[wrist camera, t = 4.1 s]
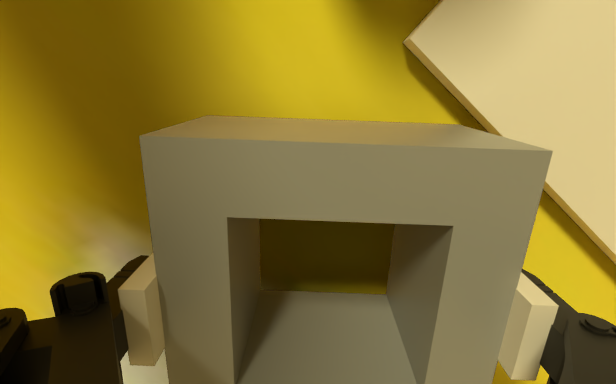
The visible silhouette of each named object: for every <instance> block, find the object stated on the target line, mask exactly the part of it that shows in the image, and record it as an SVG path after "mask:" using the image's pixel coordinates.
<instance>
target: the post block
mask: <svg viewBox="0 0 616 384" xmlns="http://www.w3.org/2000/svg"><path fill="white" fill-rule="evenodd" d="M402 43H403V44H404V45H405V46H406V47H407V48H408V49H409V50H410V51H411V52H412V53H413V54H414V55H415V56H416V57H417V58H418V59H419V60H420V61H421V62H422V63H423V64H424V65H425V67H426V68H427V69H428V70H429V71H430V72H431V73H432V74H433V75H434V76H435V77H436V78H437V79H438V80H439V81H440V82H441V83H442V84H443V85H444V86H445V87H446V88H447V89H448V90H449V92H450V93H451V94H452V95H453V96H454V97H455V98H456V99H457V100H458V101H459V102H460V103H461V104H462V105H463V106H464V107H465V108H466V109H467V110H468V111H469V112H470V113H471V114H472V115H473V117H474V118H475V119H476V120H477V121H478V122H479V123H480V124H481V125H482V126H483V127H484V128H485V129H486V130H487V131H488V132H489V133H491V134H494V135H498V136H502V137H505V138H509V139H512V140H516V141H519V142H523V143H526V144H530V145H534V146H537V147H541V148H544V149H548V150H551V151H553V153H552V157H551V160H550V164H549V168H548V172H547V176H546V179H545V183H544V187H543V189H544V191H545V192H546V193H547V194H548V195H549V196H550V197H551V198H552V199H553V200H554V201H555V202H556V203H557V204H558V205H559V206H560V207H561V208H562V209H563V210H564V211H565V212H566V213H567V215H568V216H569V217H570V218H571V219H572V220H573V221H574V222H575V223H576V224H577V225H578V226H579V227H580V228H581V229H582V230H583V231H584V232H585V233H586V234H587V235H588V236H589V237H590V238H591V240H592V241H593V242H594V243H595V244H596V245H597V246H598V247H599V248H600V249H601V250H602V251H603V252H604V253H605V254H606V255H607V256H608V257H609V258H610V259H611V260H612V261H613V262H614V263H615V265H616V0H440V1H439V3H438V4H437V5H436V6H435V7H434V8H433V9H432V10H431V11H430V13H429V14H428V15H427V16H426V17H425V18H424V19H423V20H422V21H421V22H420V24H419V25H418V26H417V27H416V28H415V29H414V30H413V31H412V32H411V34H410V35H409V36H408V37H407V38H406V39H405V40H404V41H403V42H402Z"/></svg>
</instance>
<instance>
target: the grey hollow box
mask: <svg viewBox="0 0 616 384" xmlns="http://www.w3.org/2000/svg"><path fill="white" fill-rule="evenodd" d="M139 139H140V147H141V155H142V164H143V172H144V180H145V189H146V197H147V205H148V213H149V222H150V230H151V238H152V246H153V255H154V263H155V271H156V275H157V282H158V291H159V299H160V307H161V315H162V324H163V332H164V340H165V354H166V362H167V370H168V378H169V384H492V381H493V377H494V373H495V369H496V365H497V362H498V355H499V352H500V348H501V344H502V340H503V336H504V332H505V329H506V325H507V321H508V317H509V313H510V310H511V306H512V302H513V298H514V294H515V290H516V289H517V286H518V282H519V278H520V274H521V271H522V267H523V263H524V259H525V255H526V252H527V248H528V244H529V240H530V236H531V233H532V229H533V225H534V221H535V217H536V214H537V210H538V206H539V202H540V198H541V195H542V191H543V187H544V183H545V179H546V176H547V172H548V168H549V164H550V160H551V157H552V153H553V151H551V150H548V149H544V148H541V147H537V146H534V145H530V144H526V143H523V142H519V141H516V140H512V139H509V138H505V137H502V136H498V135H494V134H491V133H487V132H484V131H480V130H477V129H473V128H470V127H466V126H462V125H457V124H430V123H402V122H375V121H347V120H320V119H293V118H265V117H238V116H211V115H207V116H203V117H200V118H197V119H193V120H190V121H187V122H183V123H180V124H177V125H173V126H170V127H167V128H163V129H160V130H157V131H153V132H150V133H147V134H143V135H140V136H139ZM260 219H286V220H313V221H339V222H366V223H392V224H395V227H394V235H393V243H392V251H391V259H390V267H389V276H388V284H387V292H386V294H360V293H334V292H308V291H282V290H260Z"/></svg>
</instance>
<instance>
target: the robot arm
mask: <svg viewBox="0 0 616 384" xmlns="http://www.w3.org/2000/svg"><path fill="white" fill-rule="evenodd" d="M50 295H51V299H52V304H53V308H54V312H55V317H52V318H45V319H39V320H33V321H27V318H26V314H25V312H24V311H23V310H22V309H18V308H5V309H1V310H0V384H123V377H122V370H121V364H120V361H121V359H122V358H123V356H124V355H125V353H126V352H127V350H128V355H129V361H130V365H143V366H155V364H156V362H157V360H158V359H159V357H160V355H161V353H162V352H163V350H164V348H165V340H164V332H163V324H162V315H161V307H160V299H159V291H158V282H157V275H156V271H155V263H154V255H153V253H152V254H151V255H150V256H142V255H141V256H139V257H137V258H135V259H133V260H131V261H129V262H128V263H127V264H126V265H125V266H124V267H123V268H122V269H121V271H119V272H118V273H117V274H116V275H115V276H114V278H112V279H110V280H109V281H108V282H107V283H106V279H105V277H104V275H103V274H101V273H98V272H84V273H78V274H74V275H71V276H68V277H66V278H64V279H62V280H59V281H58V282H57V283H55V284H54V285H53V286H52V287H51V289H50ZM498 361H499V362H500V364H501V365H502V367H503V368H504V370H505V371H506V373H507V374H508V376H509V377H510V379H511V380H536V377H537V374H538V371H539V368H540V364H541V366H542V367H543V368H544V369H545V371H546V372H547V373H548V374H549V378H548V381H547V384H616V326H615V325H613V324H611V323H609V322H608V321H606V320H604V319H601V318H599V317H596V316H593V315H589V314H585V313H578V312H577V311H575V310H574V309H573V308H572V307H571V306H570V305H568V304H567V303H566V302H565V301H564V300H563V299H561V298H560V297H559V296H558V295H557V294H556V293H553V291H552V290H551V289H550V288H549V287H548V286H545V284H544V283H543V282H542V281H541V280H540V279H538V278H537V277H536V276H535V275H533V274H531V273H529V272H527V271H525V270H523V269H522V271H521V274H520V278H519V282H518V286H517V289H516V290H515V294H514V298H513V302H512V306H511V310H510V313H509V317H508V321H507V325H506V329H505V332H504V336H503V340H502V344H501V348H500V352H499V355H498Z"/></svg>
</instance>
